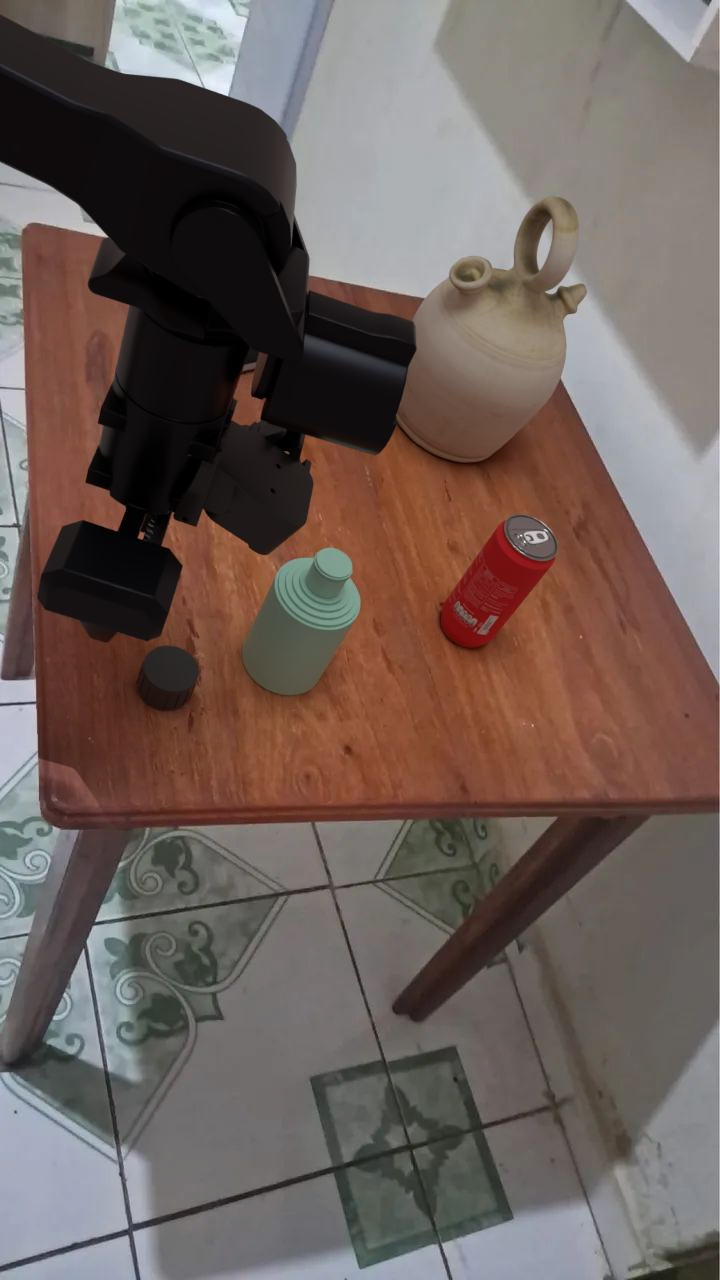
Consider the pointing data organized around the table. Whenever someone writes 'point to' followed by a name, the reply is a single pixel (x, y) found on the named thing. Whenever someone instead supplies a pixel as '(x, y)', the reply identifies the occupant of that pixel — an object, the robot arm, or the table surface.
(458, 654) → the table surface
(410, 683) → the table surface
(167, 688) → the cap
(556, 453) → the table surface
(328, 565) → the bottle
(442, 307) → the jug
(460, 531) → the table surface
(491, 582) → the beverage can
